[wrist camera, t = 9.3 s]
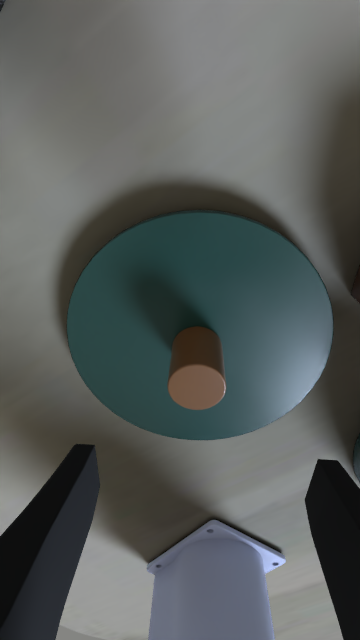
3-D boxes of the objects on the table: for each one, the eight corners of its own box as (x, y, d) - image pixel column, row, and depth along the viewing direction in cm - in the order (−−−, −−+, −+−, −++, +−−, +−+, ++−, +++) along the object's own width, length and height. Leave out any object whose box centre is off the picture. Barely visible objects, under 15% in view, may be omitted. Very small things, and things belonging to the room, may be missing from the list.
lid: (213, 457, 23) (216, 520, 19) (31, 352, 20) (-9, 404, 16) (383, 318, 18) (435, 369, 14) (169, 138, 14) (158, 138, 10)
